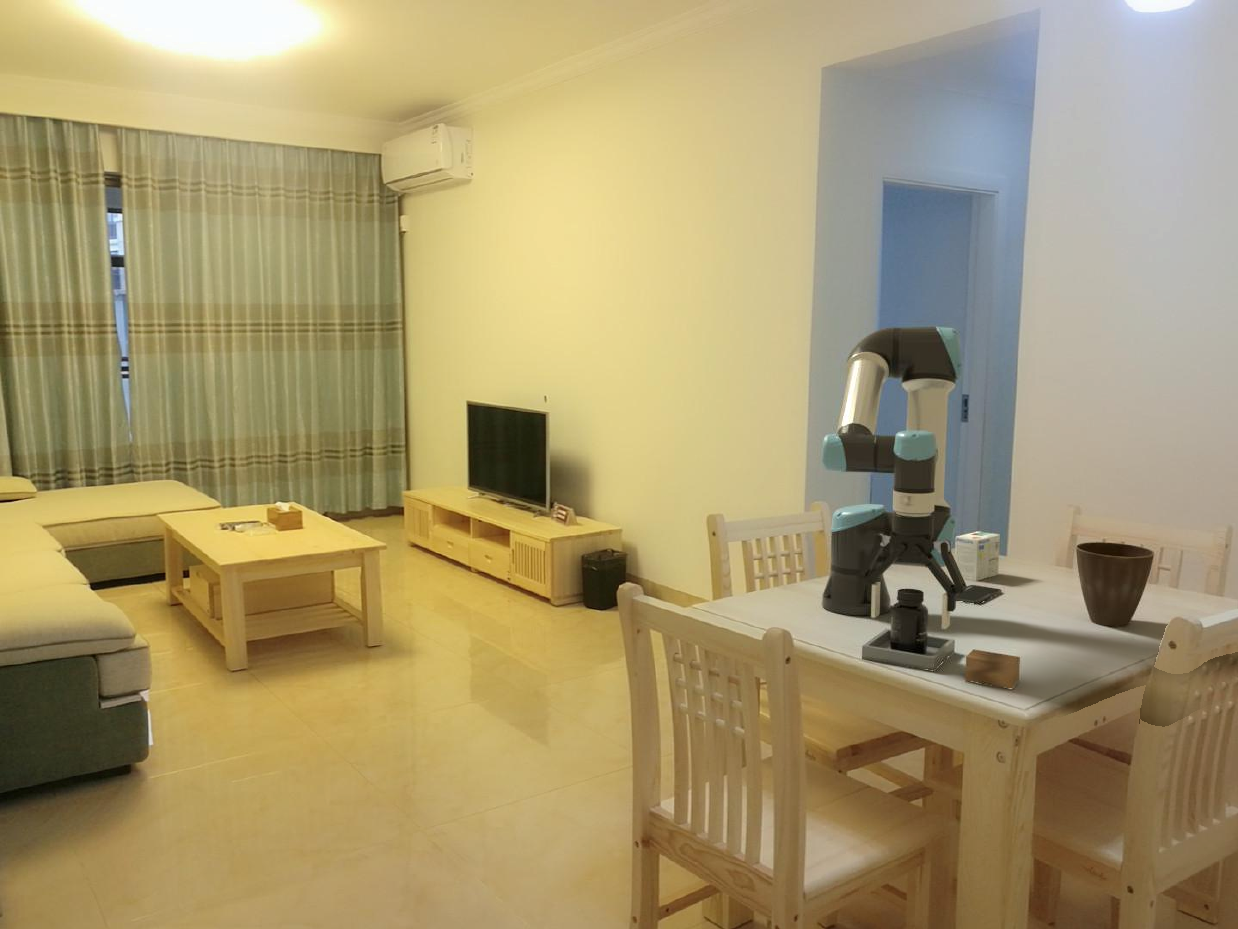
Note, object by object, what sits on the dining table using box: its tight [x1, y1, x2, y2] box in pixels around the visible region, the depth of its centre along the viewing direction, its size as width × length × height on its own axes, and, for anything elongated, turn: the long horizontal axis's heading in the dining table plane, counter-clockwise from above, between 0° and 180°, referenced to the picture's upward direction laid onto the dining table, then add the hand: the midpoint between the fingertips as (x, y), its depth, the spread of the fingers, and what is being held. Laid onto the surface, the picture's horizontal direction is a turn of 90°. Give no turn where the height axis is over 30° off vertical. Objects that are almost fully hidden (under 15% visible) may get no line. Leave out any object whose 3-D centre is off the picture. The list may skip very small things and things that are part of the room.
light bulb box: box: [954, 531, 1001, 582], centre depth 254 cm, size 11×7×11 cm, turn 130°
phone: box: [956, 584, 1002, 605], centre depth 235 cm, size 8×1×15 cm
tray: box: [861, 628, 956, 672], centre depth 190 cm, size 14×14×2 cm
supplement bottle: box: [890, 588, 929, 655], centre depth 190 cm, size 7×7×12 cm
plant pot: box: [1075, 541, 1155, 628], centre depth 211 cm, size 15×15×16 cm
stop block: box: [964, 649, 1021, 689], centre depth 175 cm, size 8×5×4 cm, turn 56°
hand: (909, 621), depth 190 cm, fingers open, 13 cm apart
